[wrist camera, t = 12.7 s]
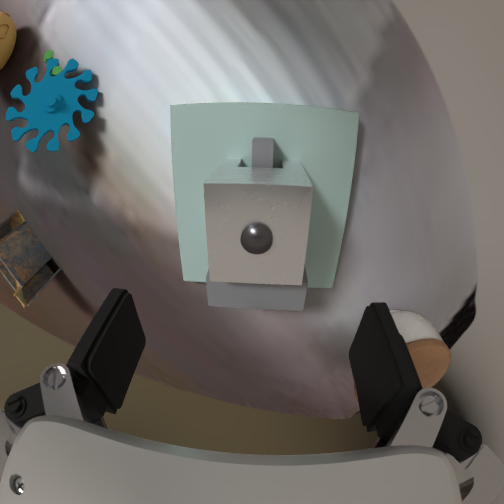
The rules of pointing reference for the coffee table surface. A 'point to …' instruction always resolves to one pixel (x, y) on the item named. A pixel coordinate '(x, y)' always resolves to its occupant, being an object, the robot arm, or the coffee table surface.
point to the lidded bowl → (422, 346)
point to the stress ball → (6, 38)
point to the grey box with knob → (257, 222)
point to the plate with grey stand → (263, 156)
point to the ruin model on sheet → (23, 259)
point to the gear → (51, 103)
